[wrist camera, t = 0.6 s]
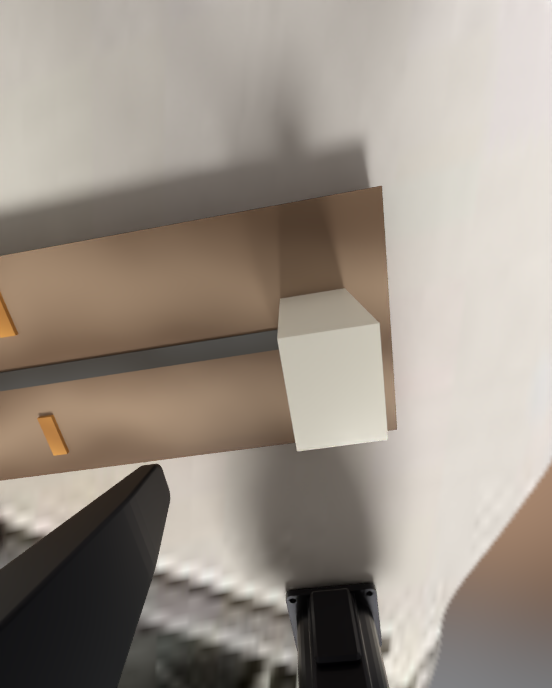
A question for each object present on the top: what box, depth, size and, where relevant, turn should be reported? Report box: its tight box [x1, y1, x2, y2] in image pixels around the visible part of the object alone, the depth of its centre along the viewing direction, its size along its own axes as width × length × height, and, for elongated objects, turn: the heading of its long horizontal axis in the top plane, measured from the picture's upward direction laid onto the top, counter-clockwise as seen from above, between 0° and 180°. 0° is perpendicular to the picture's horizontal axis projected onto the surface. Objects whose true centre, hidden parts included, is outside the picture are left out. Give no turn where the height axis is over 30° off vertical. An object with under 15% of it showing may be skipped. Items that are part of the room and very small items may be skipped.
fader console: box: [0, 186, 397, 480], centre depth 18 cm, size 12×25×2 cm, turn 100°
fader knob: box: [277, 288, 388, 451], centre depth 13 cm, size 4×3×6 cm
